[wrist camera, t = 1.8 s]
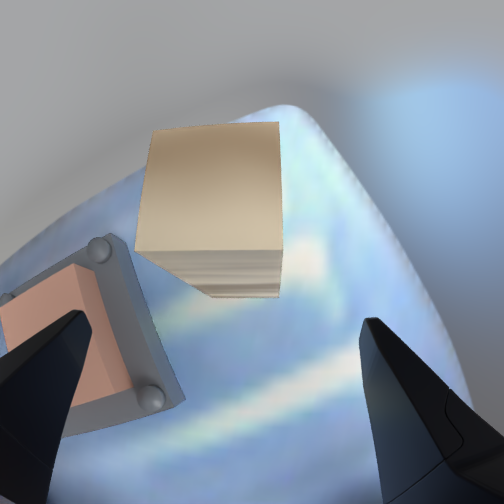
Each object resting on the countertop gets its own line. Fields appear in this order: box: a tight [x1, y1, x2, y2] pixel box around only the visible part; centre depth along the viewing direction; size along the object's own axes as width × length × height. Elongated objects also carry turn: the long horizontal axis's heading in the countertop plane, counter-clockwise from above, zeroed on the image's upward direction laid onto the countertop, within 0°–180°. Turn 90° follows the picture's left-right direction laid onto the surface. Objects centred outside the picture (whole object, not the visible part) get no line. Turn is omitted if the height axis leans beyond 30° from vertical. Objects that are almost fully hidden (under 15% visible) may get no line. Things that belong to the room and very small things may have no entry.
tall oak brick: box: [134, 122, 283, 298], centre depth 15 cm, size 4×4×12 cm
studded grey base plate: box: [0, 233, 186, 438], centre depth 18 cm, size 12×12×5 cm
